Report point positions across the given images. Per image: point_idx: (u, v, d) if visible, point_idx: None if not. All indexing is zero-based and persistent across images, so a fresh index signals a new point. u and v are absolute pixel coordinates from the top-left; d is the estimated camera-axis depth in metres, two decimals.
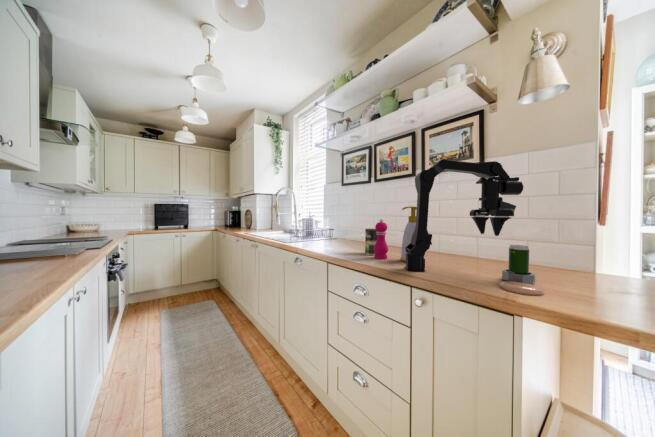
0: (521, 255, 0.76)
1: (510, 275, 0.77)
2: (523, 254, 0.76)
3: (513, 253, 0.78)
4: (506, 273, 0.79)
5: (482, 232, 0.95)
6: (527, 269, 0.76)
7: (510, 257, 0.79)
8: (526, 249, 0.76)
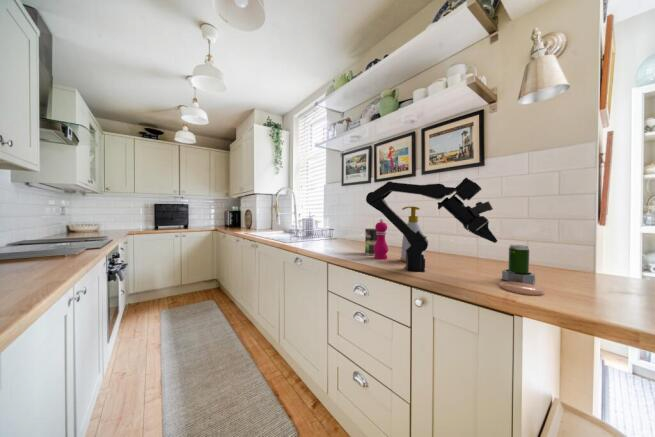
0: (521, 255, 0.76)
1: (510, 275, 0.77)
2: (523, 254, 0.76)
3: (513, 253, 0.78)
4: (506, 273, 0.79)
5: None
6: (527, 269, 0.76)
7: (510, 257, 0.79)
8: (526, 249, 0.76)
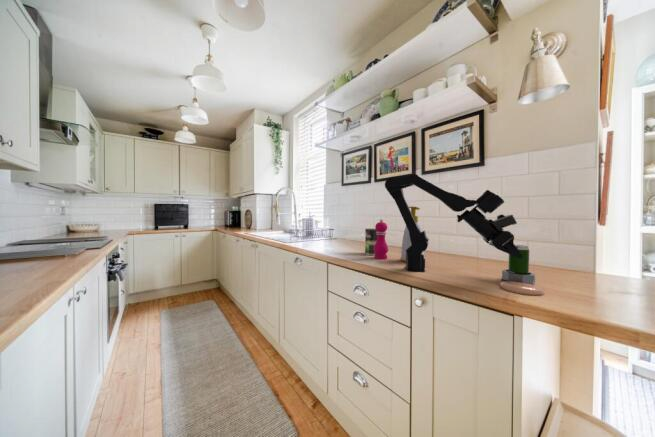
0: None
1: (510, 275, 0.77)
2: (523, 254, 0.76)
3: None
4: (506, 273, 0.79)
5: None
6: (527, 269, 0.76)
7: (510, 257, 0.79)
8: (526, 249, 0.76)
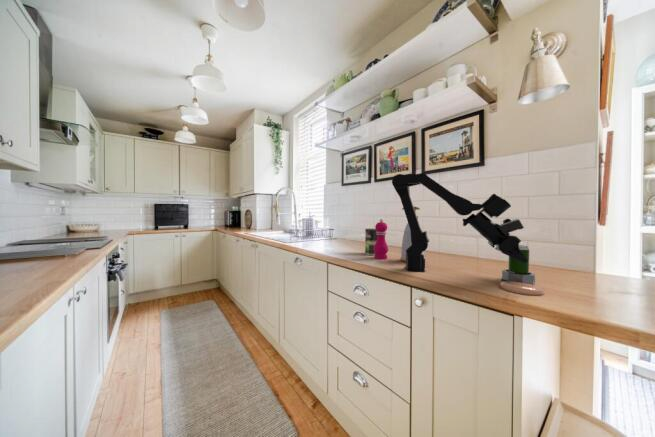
0: None
1: (510, 275, 0.77)
2: (523, 254, 0.76)
3: None
4: (506, 273, 0.79)
5: None
6: (527, 269, 0.76)
7: (510, 257, 0.79)
8: (526, 249, 0.76)
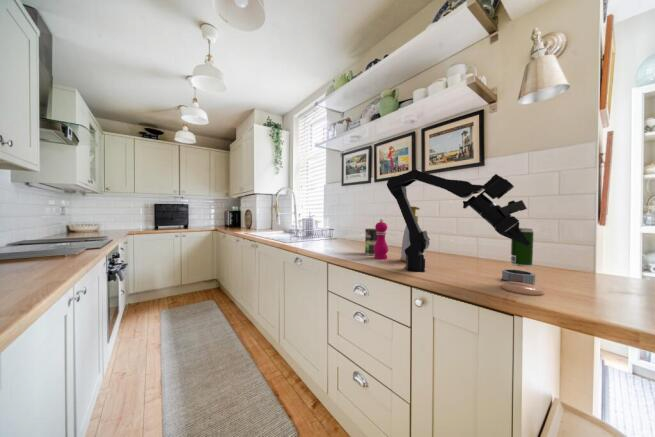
0: None
1: (510, 275, 0.77)
2: (526, 236, 0.72)
3: None
4: (506, 273, 0.79)
5: None
6: (530, 253, 0.72)
7: (512, 240, 0.75)
8: (529, 231, 0.72)
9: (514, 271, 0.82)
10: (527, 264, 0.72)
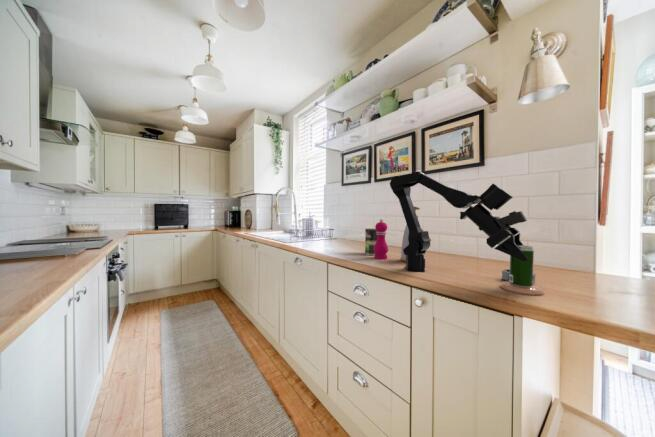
0: None
1: None
2: None
3: None
4: (506, 273, 0.79)
5: None
6: (529, 273, 0.67)
7: (510, 258, 0.70)
8: (527, 250, 0.67)
9: None
10: (525, 285, 0.67)
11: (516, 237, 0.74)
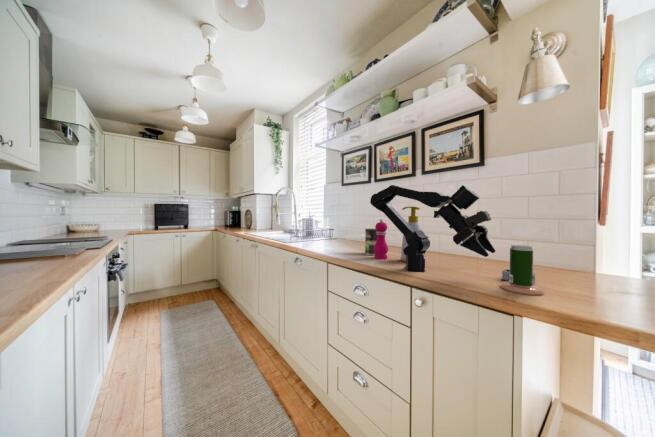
0: (520, 256, 0.67)
1: None
2: (523, 255, 0.67)
3: (512, 254, 0.69)
4: (506, 273, 0.79)
5: (492, 251, 0.78)
6: (528, 273, 0.67)
7: (510, 258, 0.70)
8: (527, 250, 0.67)
9: None
10: (525, 285, 0.67)
11: (483, 234, 0.81)
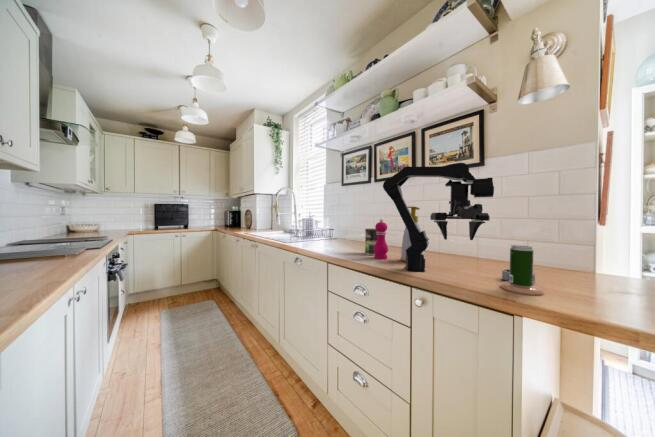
0: (520, 257, 0.67)
1: None
2: (523, 255, 0.67)
3: (512, 254, 0.69)
4: (506, 273, 0.79)
5: (470, 238, 0.86)
6: (528, 273, 0.67)
7: (510, 258, 0.70)
8: (527, 250, 0.67)
9: None
10: (525, 285, 0.67)
11: (475, 223, 0.84)
